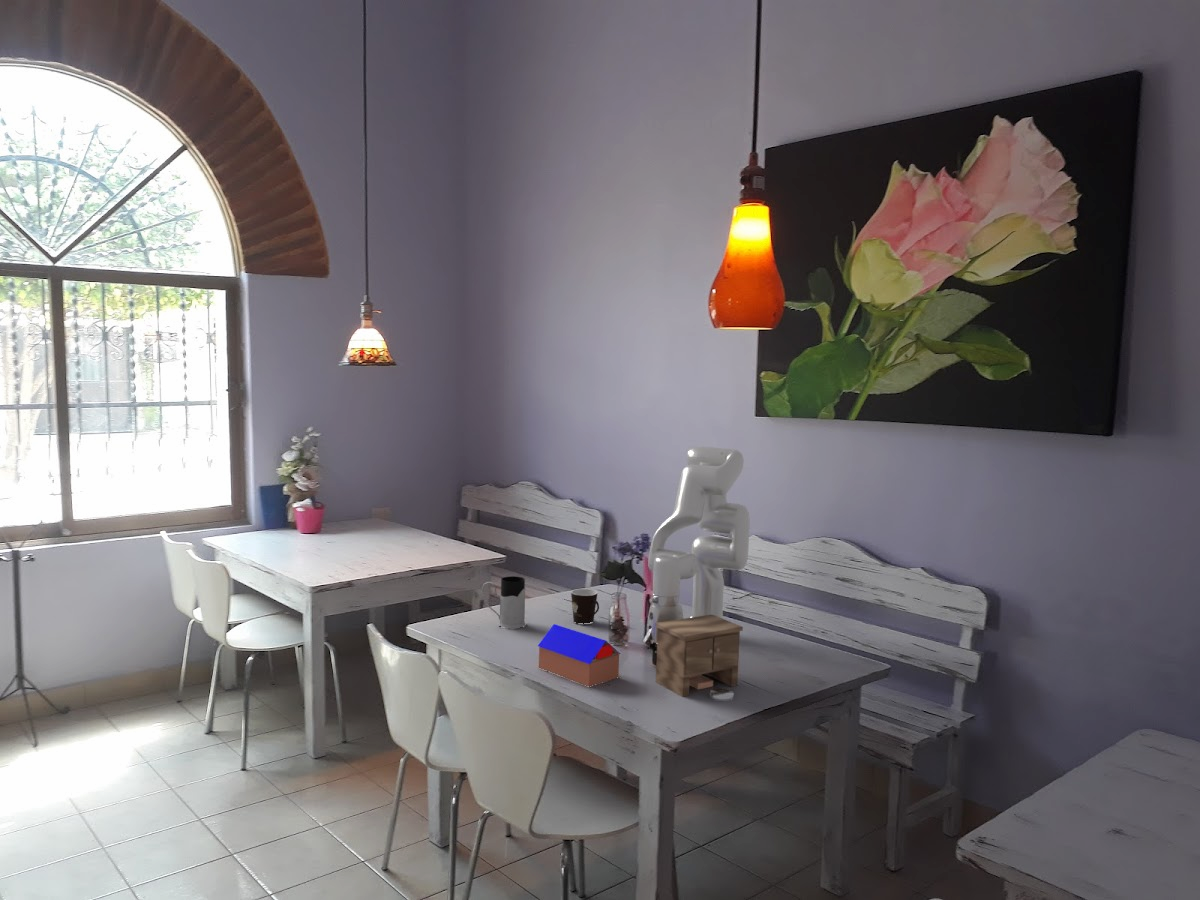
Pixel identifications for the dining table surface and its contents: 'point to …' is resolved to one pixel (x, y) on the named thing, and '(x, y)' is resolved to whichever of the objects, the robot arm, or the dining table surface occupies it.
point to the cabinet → (696, 651)
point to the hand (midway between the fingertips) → (663, 663)
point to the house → (578, 656)
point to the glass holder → (511, 602)
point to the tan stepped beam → (699, 681)
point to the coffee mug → (584, 605)
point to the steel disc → (721, 694)
